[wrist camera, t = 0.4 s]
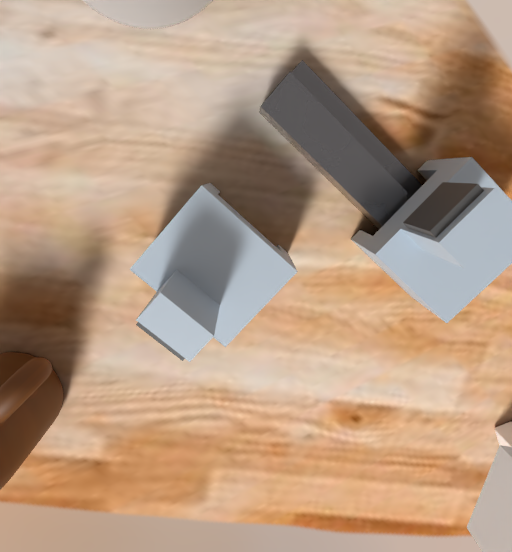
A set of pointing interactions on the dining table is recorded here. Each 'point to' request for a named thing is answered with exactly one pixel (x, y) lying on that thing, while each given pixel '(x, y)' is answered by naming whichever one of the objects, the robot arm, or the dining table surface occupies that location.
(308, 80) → the rail
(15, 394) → the mug
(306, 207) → the dining table surface
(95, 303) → the dining table surface
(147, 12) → the cylinder vase
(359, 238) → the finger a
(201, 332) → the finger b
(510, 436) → the milk carton
